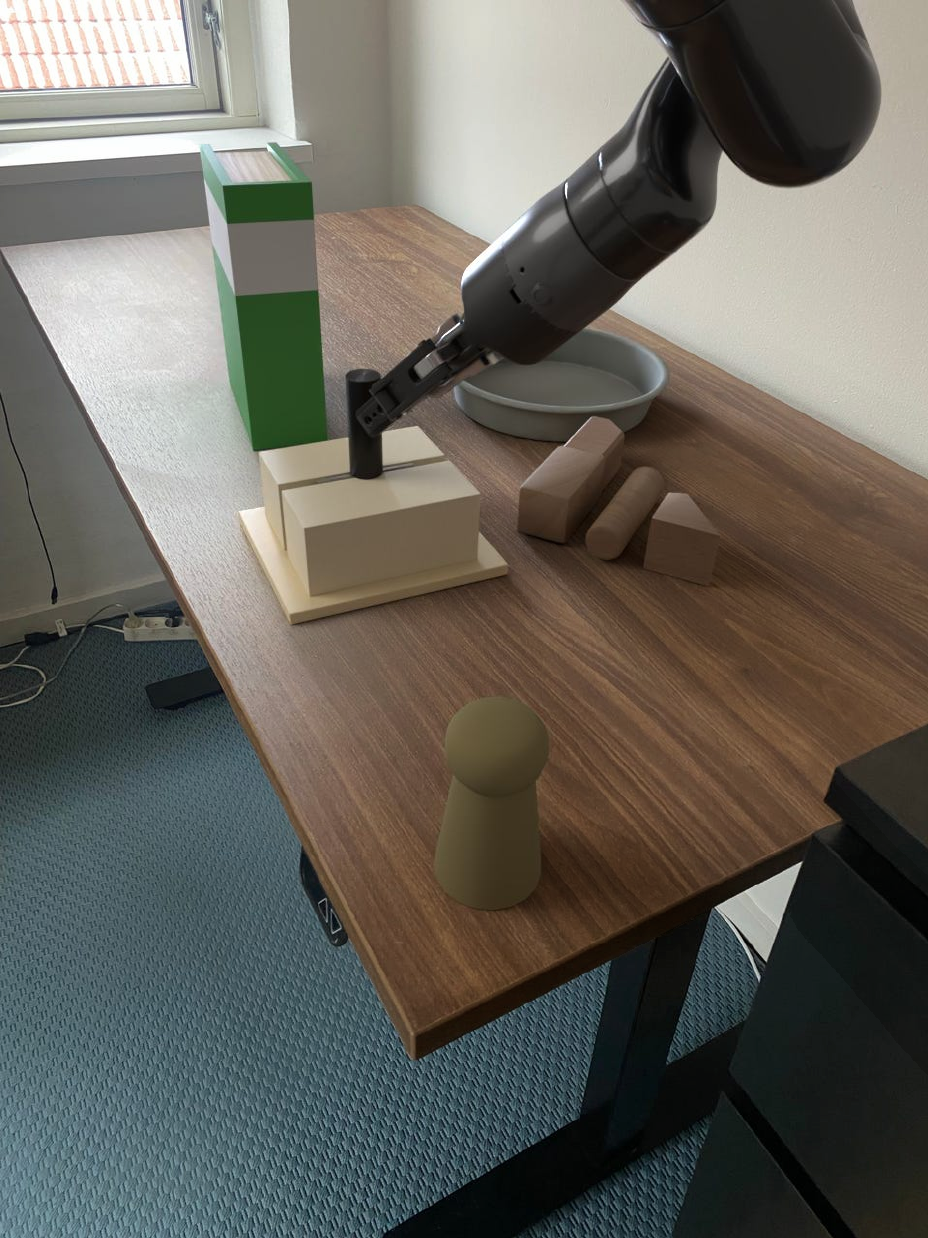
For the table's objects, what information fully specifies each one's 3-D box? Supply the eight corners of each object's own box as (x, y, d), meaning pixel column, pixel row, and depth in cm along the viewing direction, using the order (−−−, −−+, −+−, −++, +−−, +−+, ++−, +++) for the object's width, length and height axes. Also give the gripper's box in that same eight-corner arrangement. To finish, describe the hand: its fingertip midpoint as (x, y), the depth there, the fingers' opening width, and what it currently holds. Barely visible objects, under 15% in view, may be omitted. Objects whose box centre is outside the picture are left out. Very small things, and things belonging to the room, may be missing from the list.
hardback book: (229, 381, 104) (199, 144, 89) (295, 374, 106) (276, 142, 91) (253, 450, 90) (222, 185, 76) (327, 441, 92) (311, 181, 78)
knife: (326, 554, 74) (316, 389, 66) (317, 538, 76) (305, 375, 68) (419, 535, 77) (420, 374, 69) (407, 520, 79) (407, 361, 71)
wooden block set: (514, 479, 76) (590, 401, 89) (510, 538, 79) (583, 455, 92) (719, 532, 70) (767, 440, 83) (705, 593, 73) (754, 496, 86)
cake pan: (606, 473, 89) (612, 430, 86) (396, 410, 99) (396, 370, 96) (696, 390, 106) (703, 351, 103) (509, 343, 116) (511, 307, 113)
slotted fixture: (290, 625, 68) (282, 544, 64) (238, 521, 80) (229, 447, 76) (508, 574, 75) (513, 498, 70) (430, 484, 86) (431, 414, 82)
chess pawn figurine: (420, 896, 50) (421, 750, 43) (448, 813, 54) (453, 669, 48) (531, 921, 49) (549, 776, 42) (550, 834, 53) (569, 691, 47)
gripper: (569, 198, 61) (423, 333, 72) (455, 246, 51) (307, 394, 62) (632, 295, 62) (478, 413, 73) (533, 361, 52) (373, 485, 64)
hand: (399, 404), depth 68 cm, fingers open, 8 cm apart
